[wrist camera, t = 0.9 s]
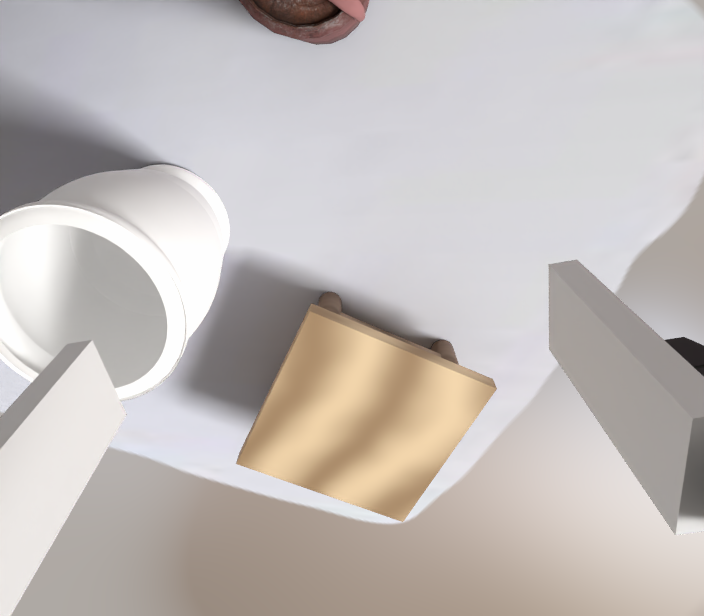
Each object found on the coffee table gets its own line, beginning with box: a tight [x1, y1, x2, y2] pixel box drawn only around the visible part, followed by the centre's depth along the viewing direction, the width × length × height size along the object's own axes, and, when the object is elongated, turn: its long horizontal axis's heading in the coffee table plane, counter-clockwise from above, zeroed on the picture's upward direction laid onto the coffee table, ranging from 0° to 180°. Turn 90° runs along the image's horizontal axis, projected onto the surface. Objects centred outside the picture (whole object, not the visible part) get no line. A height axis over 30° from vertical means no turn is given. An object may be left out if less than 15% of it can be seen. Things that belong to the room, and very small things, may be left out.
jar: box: [0, 165, 230, 401], centre depth 32 cm, size 11×10×15 cm
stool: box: [236, 292, 497, 522], centre depth 41 cm, size 14×14×7 cm
